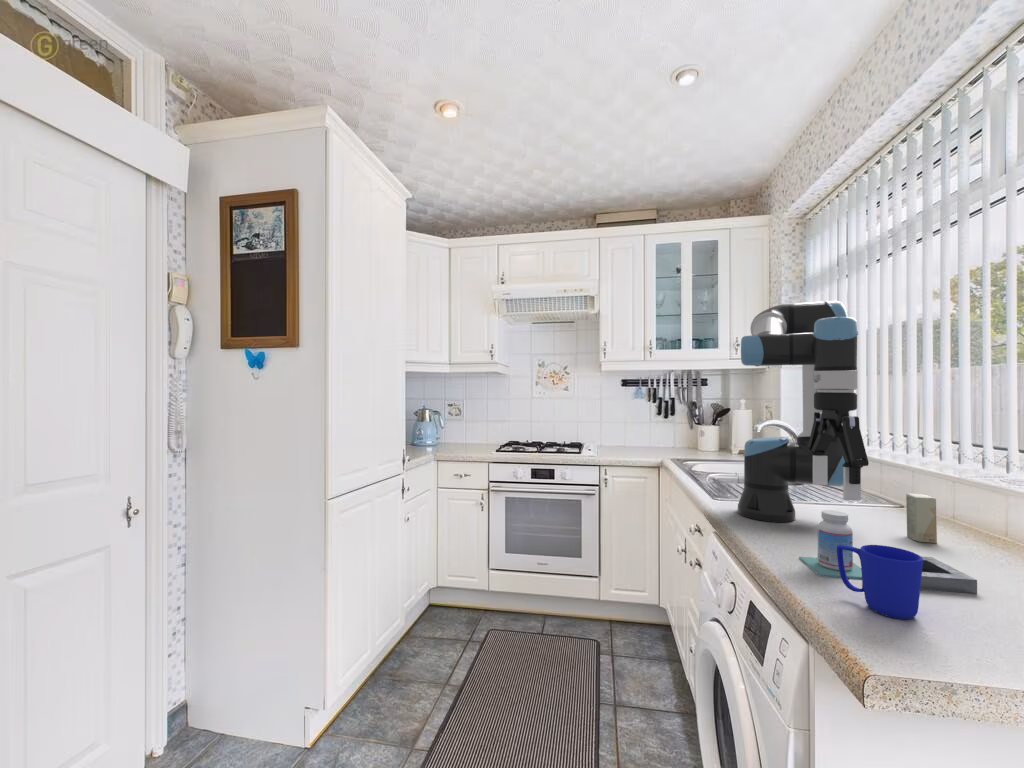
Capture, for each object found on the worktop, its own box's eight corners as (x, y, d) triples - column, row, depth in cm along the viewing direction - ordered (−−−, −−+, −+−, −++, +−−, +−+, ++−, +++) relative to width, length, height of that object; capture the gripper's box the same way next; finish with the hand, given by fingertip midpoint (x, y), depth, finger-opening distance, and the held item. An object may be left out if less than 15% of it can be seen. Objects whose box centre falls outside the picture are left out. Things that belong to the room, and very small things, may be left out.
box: (937, 543, 114) (937, 498, 114) (916, 541, 115) (915, 497, 115) (926, 537, 119) (925, 494, 119) (905, 535, 120) (905, 492, 120)
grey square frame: (867, 564, 100) (867, 552, 100) (931, 569, 98) (931, 557, 98) (903, 587, 88) (903, 574, 88) (977, 593, 86) (977, 580, 86)
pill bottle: (858, 573, 94) (858, 517, 94) (825, 570, 95) (825, 515, 95) (843, 562, 100) (843, 509, 100) (812, 559, 101) (812, 508, 101)
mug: (847, 589, 87) (847, 535, 87) (931, 615, 77) (930, 555, 77) (826, 599, 83) (826, 543, 83) (912, 629, 73) (912, 565, 73)
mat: (799, 558, 103) (799, 556, 103) (849, 561, 101) (849, 559, 101) (819, 576, 93) (819, 574, 93) (876, 580, 92) (876, 578, 92)
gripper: (791, 390, 111) (791, 478, 111) (845, 392, 86) (845, 506, 86) (826, 390, 109) (826, 479, 109) (891, 392, 85) (891, 508, 85)
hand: (834, 491), depth 98 cm, fingers open, 13 cm apart
